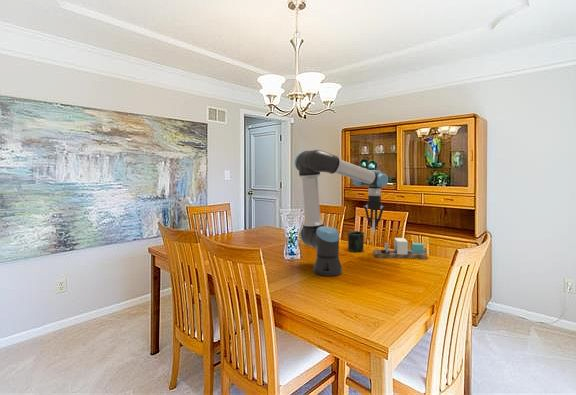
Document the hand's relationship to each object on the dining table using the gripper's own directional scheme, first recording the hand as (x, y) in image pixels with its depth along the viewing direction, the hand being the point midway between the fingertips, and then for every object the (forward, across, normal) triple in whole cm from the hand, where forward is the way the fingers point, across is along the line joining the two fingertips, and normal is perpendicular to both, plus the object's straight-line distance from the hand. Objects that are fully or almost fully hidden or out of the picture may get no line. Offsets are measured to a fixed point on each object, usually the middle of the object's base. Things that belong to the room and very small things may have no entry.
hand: (373, 232), depth 202 cm
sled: (+11, +20, +1) cm, 23 cm away
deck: (+14, +16, +1) cm, 22 cm away
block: (+10, +27, +1) cm, 29 cm away
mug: (+15, -9, +14) cm, 22 cm away
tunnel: (+12, +17, +1) cm, 21 cm away
